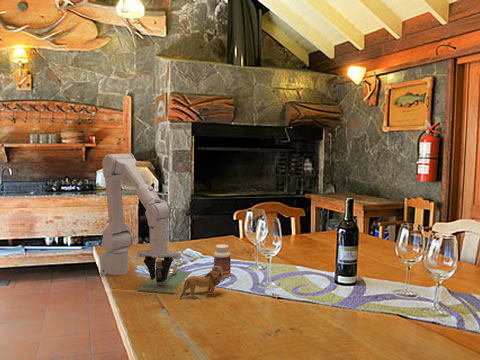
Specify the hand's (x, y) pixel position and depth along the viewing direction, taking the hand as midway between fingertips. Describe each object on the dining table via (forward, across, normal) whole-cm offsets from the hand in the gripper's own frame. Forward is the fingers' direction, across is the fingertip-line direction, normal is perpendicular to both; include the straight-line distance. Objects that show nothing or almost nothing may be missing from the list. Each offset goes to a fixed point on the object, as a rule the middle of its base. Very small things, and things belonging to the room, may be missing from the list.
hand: (158, 279), depth 146 cm
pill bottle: (+3, +18, +18) cm, 25 cm away
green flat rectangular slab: (+3, 0, +6) cm, 7 cm away
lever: (+2, 0, +8) cm, 8 cm away
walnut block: (+2, -5, +14) cm, 15 cm away
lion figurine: (+3, +16, -3) cm, 16 cm away
